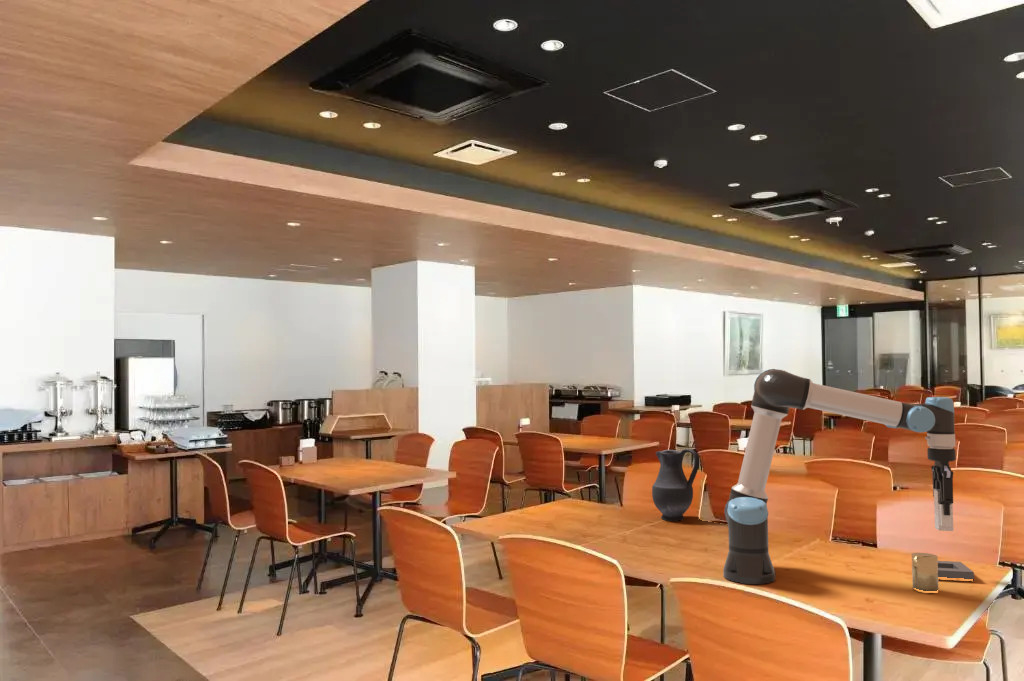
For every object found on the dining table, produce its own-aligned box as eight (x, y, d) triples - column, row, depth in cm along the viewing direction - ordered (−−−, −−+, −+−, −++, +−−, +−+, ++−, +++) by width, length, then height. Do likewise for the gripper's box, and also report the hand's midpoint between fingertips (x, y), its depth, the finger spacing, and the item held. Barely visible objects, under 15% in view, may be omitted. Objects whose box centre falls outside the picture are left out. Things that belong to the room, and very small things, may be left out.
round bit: (941, 594, 210) (940, 558, 211) (916, 593, 212) (914, 557, 213) (934, 588, 217) (933, 553, 217) (910, 586, 218) (909, 552, 219)
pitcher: (664, 513, 331) (663, 445, 332) (708, 519, 318) (707, 447, 319) (645, 519, 318) (643, 448, 319) (690, 525, 305) (688, 451, 306)
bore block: (974, 582, 222) (973, 572, 222) (929, 579, 225) (928, 569, 225) (960, 571, 234) (960, 561, 234) (918, 569, 237) (918, 559, 237)
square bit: (953, 531, 227) (952, 491, 228) (938, 530, 228) (937, 490, 229) (949, 528, 231) (948, 489, 232) (934, 527, 232) (933, 488, 233)
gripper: (920, 444, 240) (922, 518, 239) (935, 450, 223) (938, 529, 223) (946, 444, 238) (948, 519, 237) (964, 450, 222) (966, 530, 221)
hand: (943, 523), depth 230 cm, fingers closed on square bit, 4 cm apart
